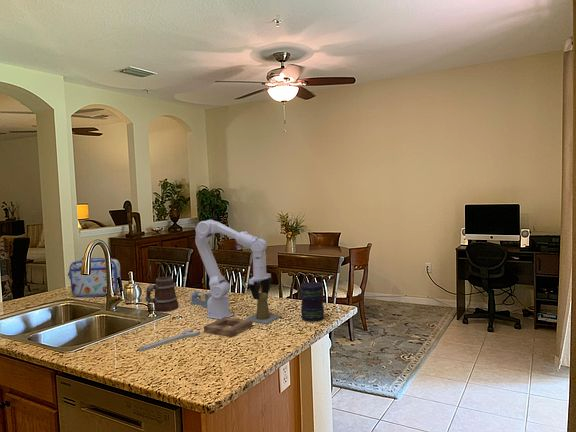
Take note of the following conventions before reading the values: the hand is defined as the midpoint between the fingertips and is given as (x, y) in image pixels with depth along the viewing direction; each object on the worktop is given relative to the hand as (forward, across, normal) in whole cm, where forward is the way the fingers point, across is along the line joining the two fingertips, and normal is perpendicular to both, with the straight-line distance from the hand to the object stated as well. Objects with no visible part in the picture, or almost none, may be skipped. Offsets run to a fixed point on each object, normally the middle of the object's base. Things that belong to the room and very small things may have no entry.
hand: (260, 297), depth 189 cm
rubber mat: (+9, -1, -1) cm, 9 cm away
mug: (+10, -8, +53) cm, 54 cm away
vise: (+10, +9, +41) cm, 43 cm away
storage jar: (+10, +8, -21) cm, 25 cm away
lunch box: (+10, -2, +111) cm, 111 cm away
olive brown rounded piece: (+9, -1, -1) cm, 9 cm away
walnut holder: (+9, -19, +4) cm, 21 cm away
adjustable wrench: (+10, -39, +17) cm, 43 cm away
